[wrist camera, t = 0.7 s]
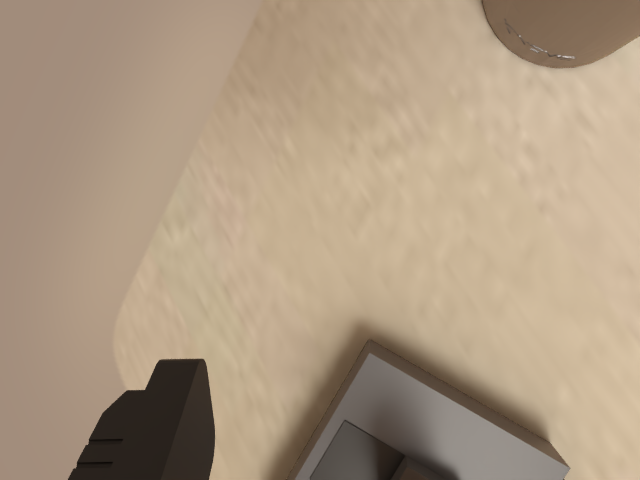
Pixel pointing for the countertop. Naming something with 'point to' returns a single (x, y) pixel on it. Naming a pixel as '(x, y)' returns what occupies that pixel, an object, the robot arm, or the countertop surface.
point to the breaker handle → (414, 471)
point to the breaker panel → (418, 430)
